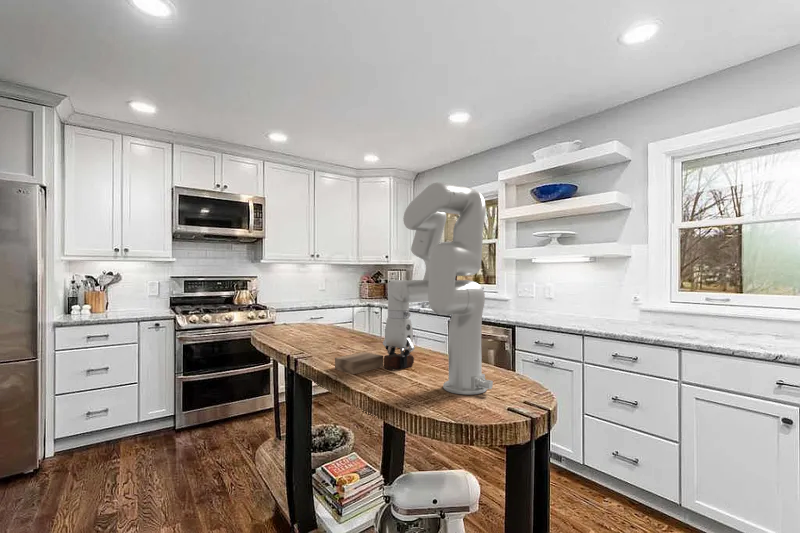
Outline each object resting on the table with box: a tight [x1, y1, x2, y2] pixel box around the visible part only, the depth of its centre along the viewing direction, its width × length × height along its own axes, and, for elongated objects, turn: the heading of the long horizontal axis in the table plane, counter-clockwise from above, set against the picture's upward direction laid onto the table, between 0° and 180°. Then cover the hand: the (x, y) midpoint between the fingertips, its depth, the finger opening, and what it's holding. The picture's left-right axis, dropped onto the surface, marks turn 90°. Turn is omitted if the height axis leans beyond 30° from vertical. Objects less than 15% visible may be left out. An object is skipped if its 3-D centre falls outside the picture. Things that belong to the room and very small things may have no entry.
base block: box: [334, 351, 384, 375], centre depth 144 cm, size 10×14×4 cm
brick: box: [383, 353, 415, 371], centre depth 144 cm, size 11×4×5 cm, turn 126°
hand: (397, 365), depth 143 cm, fingers closed on brick, 4 cm apart
